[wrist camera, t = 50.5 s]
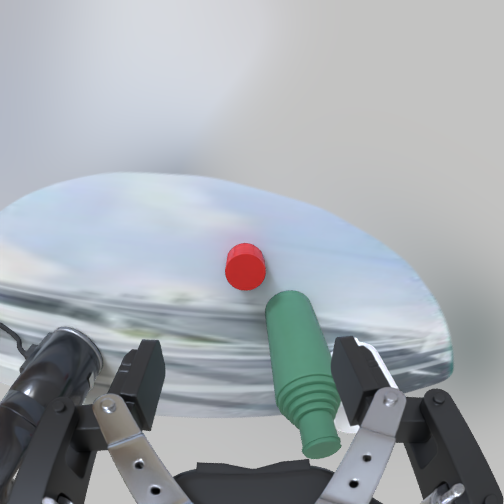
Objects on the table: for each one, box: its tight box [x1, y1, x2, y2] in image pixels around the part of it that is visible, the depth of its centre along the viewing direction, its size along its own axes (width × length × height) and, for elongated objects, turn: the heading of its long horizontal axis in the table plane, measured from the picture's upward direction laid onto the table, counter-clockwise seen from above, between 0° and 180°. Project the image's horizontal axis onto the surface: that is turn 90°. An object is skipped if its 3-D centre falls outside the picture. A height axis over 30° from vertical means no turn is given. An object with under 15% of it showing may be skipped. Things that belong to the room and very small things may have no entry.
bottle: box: [265, 291, 341, 459], centre depth 25 cm, size 6×6×20 cm
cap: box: [225, 243, 266, 290], centre depth 31 cm, size 4×4×3 cm
